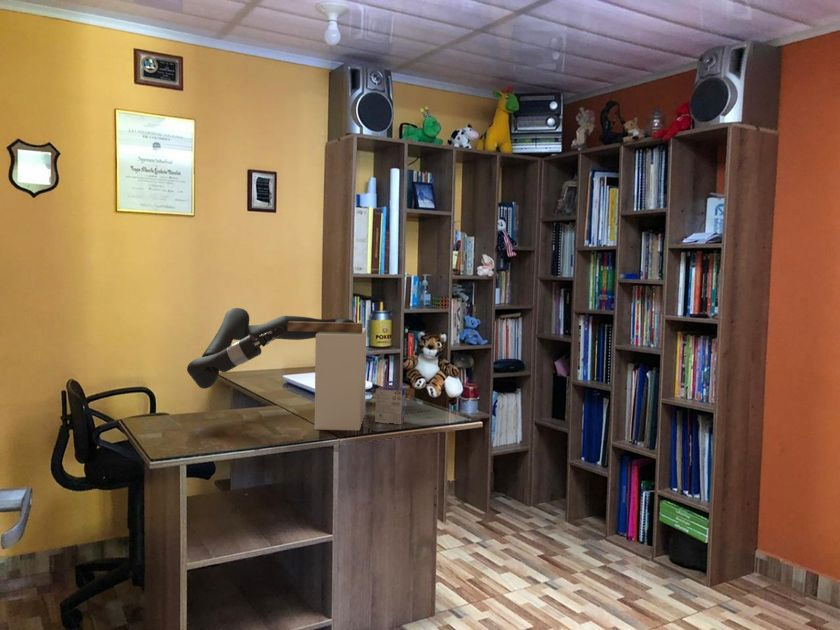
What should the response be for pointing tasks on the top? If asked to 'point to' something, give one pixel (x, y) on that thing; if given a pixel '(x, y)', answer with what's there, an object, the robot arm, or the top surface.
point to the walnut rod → (325, 327)
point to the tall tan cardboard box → (340, 380)
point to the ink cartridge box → (390, 404)
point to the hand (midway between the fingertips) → (285, 328)
